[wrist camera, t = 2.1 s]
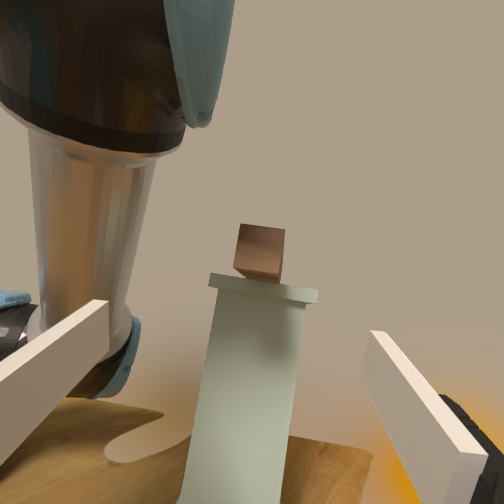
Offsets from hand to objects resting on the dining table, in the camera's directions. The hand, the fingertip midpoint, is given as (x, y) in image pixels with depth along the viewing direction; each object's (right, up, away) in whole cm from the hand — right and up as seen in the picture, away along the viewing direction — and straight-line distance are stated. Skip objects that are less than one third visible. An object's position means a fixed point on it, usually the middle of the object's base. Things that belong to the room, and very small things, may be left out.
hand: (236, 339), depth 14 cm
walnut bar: (+2, +1, +20) cm, 20 cm away
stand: (-2, -29, +18) cm, 34 cm away
